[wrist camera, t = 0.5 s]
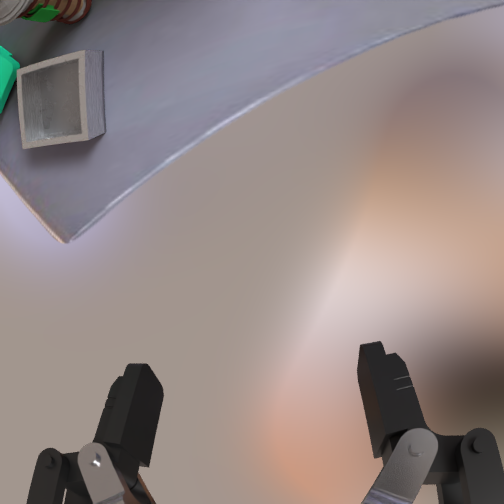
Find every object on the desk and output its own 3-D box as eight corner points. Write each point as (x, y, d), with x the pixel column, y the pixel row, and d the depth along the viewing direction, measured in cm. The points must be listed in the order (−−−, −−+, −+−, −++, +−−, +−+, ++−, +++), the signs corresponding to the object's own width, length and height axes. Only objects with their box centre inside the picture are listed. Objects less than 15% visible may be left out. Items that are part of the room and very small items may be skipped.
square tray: (38, 67, 27) (16, 69, 24) (103, 51, 27) (85, 49, 24) (42, 140, 33) (22, 149, 29) (106, 131, 33) (88, 140, 29)
